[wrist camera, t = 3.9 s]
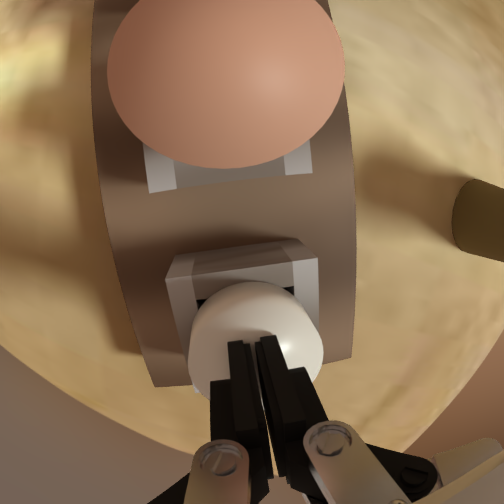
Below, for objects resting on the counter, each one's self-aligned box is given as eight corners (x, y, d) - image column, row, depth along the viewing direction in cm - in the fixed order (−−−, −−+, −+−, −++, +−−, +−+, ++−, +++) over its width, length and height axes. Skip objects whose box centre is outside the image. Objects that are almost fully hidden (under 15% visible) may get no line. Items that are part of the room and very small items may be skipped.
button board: (116, -37, 10) (91, -85, 5) (292, -55, 11) (315, -105, 5) (161, 358, 19) (147, 423, 13) (334, 332, 19) (371, 388, 14)
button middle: (150, 53, 8) (110, -13, 4) (281, 39, 9) (323, -30, 4) (162, 176, 10) (116, 187, 5) (296, 160, 10) (357, 159, 6)
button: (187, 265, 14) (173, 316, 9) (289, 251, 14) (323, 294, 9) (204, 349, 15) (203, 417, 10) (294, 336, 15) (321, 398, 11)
